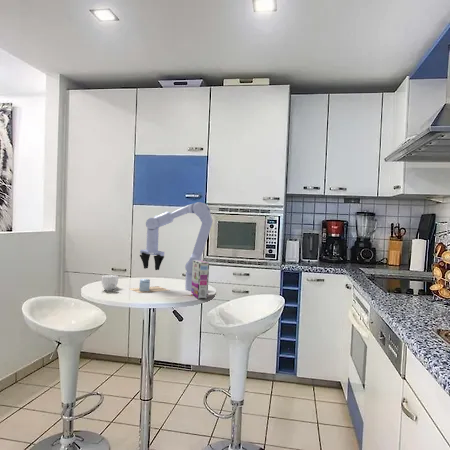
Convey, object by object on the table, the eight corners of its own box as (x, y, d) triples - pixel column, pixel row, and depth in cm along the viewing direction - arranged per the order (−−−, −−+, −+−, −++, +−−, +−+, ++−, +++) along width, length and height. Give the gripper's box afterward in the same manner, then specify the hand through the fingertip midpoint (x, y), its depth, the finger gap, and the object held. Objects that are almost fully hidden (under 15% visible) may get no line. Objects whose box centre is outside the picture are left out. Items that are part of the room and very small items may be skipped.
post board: (169, 292, 189) (170, 290, 189) (139, 295, 179) (139, 293, 179) (158, 288, 199) (158, 286, 199) (128, 290, 189) (128, 288, 189)
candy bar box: (208, 298, 177) (209, 262, 177) (197, 299, 175) (199, 262, 175) (200, 294, 188) (202, 259, 187) (190, 294, 186) (192, 259, 186)
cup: (98, 290, 186) (98, 276, 186) (107, 287, 196) (107, 273, 196) (114, 291, 185) (114, 277, 185) (122, 288, 195) (122, 274, 195)
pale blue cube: (149, 289, 189) (149, 279, 189) (149, 291, 184) (149, 280, 184) (139, 289, 188) (140, 278, 188) (139, 291, 184) (139, 280, 184)
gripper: (136, 241, 196) (135, 268, 196) (157, 243, 188) (156, 271, 188) (146, 240, 202) (145, 267, 202) (167, 242, 194) (166, 270, 194)
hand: (151, 269), depth 196 cm, fingers open, 7 cm apart
